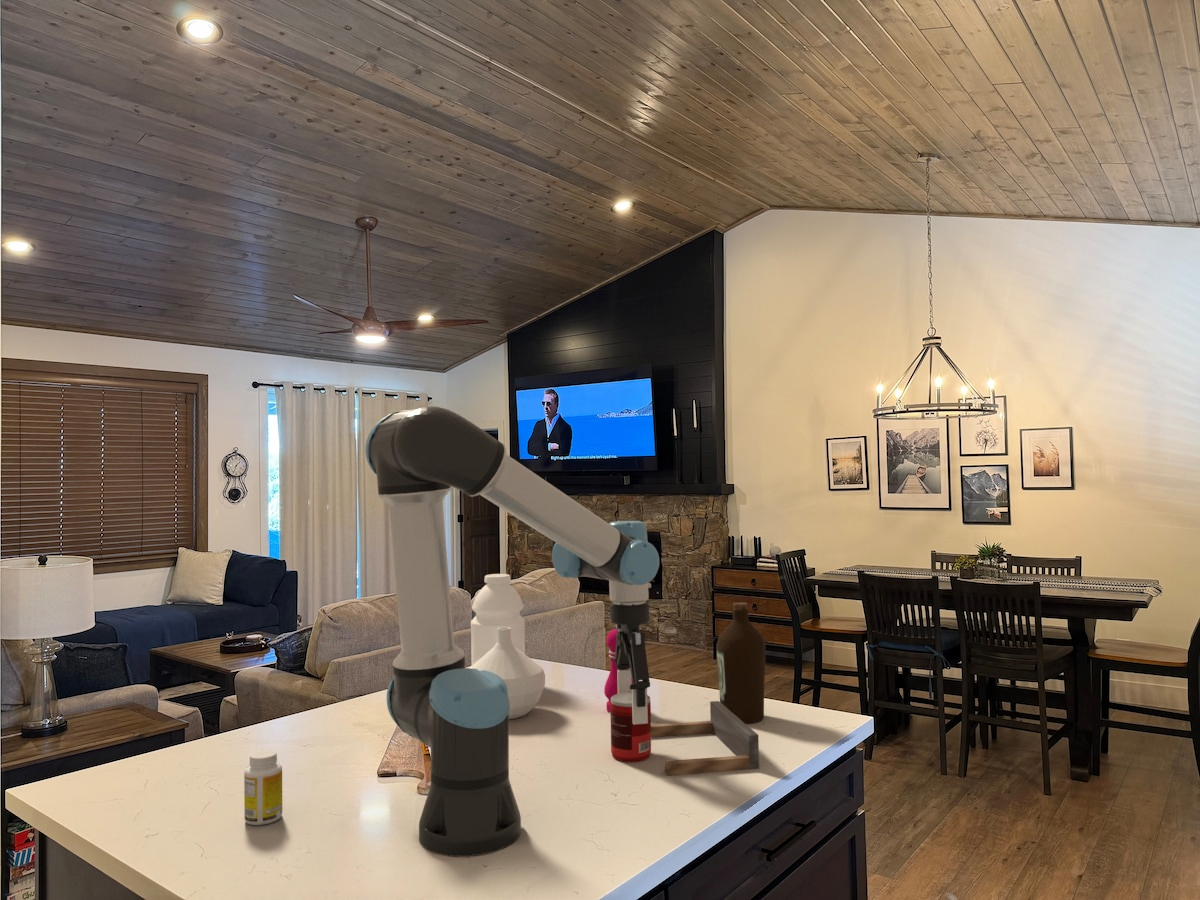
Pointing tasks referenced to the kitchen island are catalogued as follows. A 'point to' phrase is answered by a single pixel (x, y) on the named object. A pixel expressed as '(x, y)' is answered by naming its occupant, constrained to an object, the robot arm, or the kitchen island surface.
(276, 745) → the kitchen island surface
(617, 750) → the canned food
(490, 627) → the bottle
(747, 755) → the guide lane
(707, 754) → the kitchen island surface
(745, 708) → the olive oil
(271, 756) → the supplement bottle
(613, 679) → the pepper mill
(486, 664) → the vase
